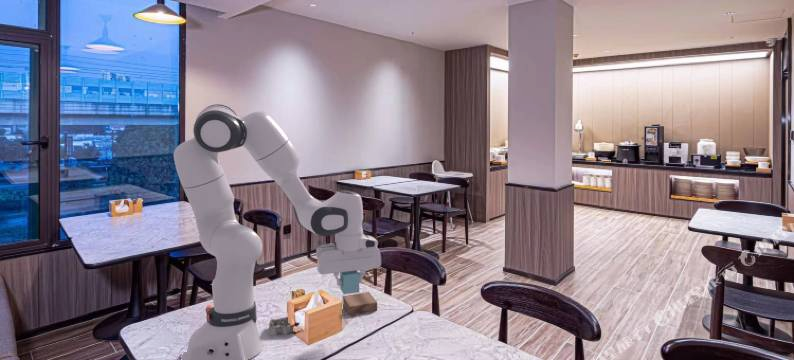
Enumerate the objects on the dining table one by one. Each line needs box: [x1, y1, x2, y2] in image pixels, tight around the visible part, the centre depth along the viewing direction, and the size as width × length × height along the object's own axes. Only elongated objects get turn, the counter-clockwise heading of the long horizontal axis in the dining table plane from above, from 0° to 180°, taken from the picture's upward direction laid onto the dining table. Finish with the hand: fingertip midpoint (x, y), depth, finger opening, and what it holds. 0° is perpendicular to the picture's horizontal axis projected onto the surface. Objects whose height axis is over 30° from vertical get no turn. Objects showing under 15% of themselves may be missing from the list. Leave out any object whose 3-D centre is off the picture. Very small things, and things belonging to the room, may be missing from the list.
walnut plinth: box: [342, 291, 378, 316], centre depth 159 cm, size 10×10×3 cm
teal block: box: [339, 270, 360, 295], centre depth 139 cm, size 5×5×6 cm
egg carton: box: [268, 316, 295, 336], centre depth 143 cm, size 11×8×4 cm
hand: (349, 283), depth 139 cm, fingers closed on teal block, 5 cm apart
